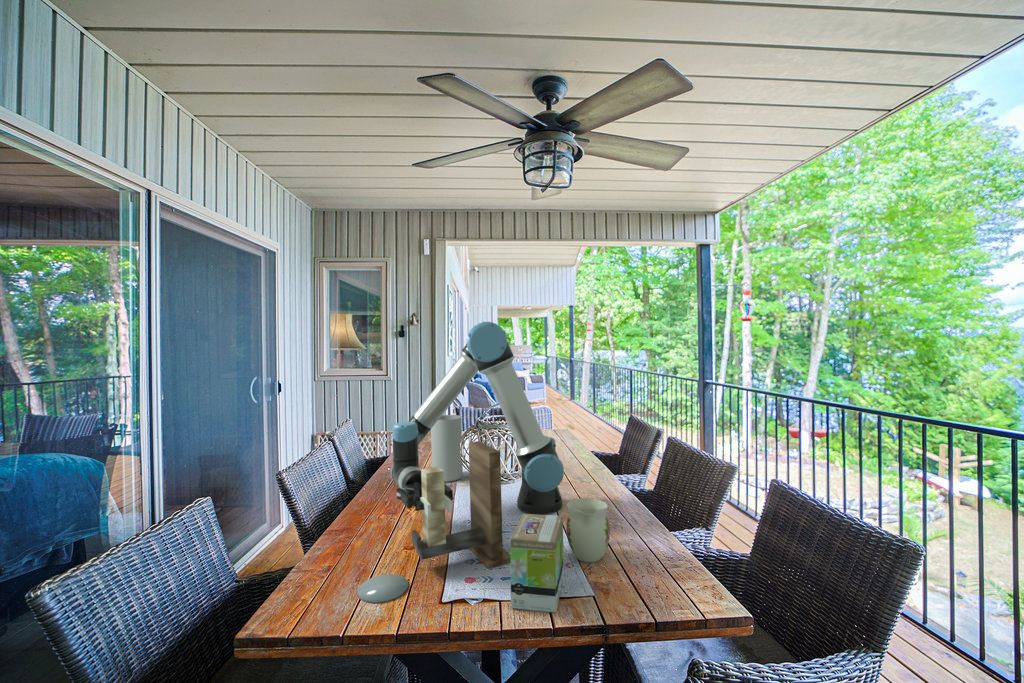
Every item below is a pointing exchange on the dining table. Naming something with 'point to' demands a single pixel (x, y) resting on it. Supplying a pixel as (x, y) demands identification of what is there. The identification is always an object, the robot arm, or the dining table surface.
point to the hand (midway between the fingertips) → (439, 508)
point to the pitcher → (588, 528)
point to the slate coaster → (382, 588)
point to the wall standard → (477, 513)
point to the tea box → (537, 563)
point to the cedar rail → (434, 506)
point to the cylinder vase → (447, 446)
